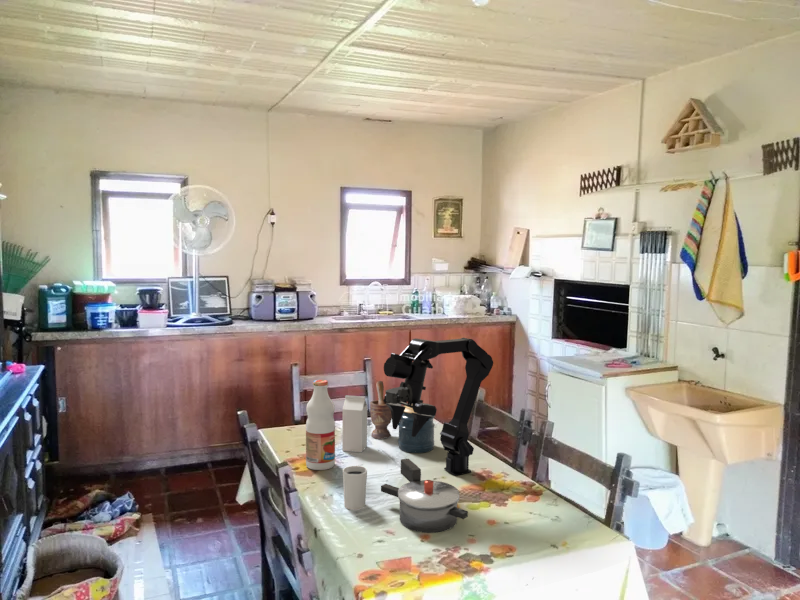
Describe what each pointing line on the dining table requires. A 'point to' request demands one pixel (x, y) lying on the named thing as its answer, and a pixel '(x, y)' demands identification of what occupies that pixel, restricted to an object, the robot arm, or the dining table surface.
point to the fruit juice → (320, 429)
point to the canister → (421, 440)
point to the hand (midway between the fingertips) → (403, 432)
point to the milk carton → (354, 424)
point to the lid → (425, 490)
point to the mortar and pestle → (380, 414)
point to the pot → (426, 515)
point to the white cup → (354, 487)
